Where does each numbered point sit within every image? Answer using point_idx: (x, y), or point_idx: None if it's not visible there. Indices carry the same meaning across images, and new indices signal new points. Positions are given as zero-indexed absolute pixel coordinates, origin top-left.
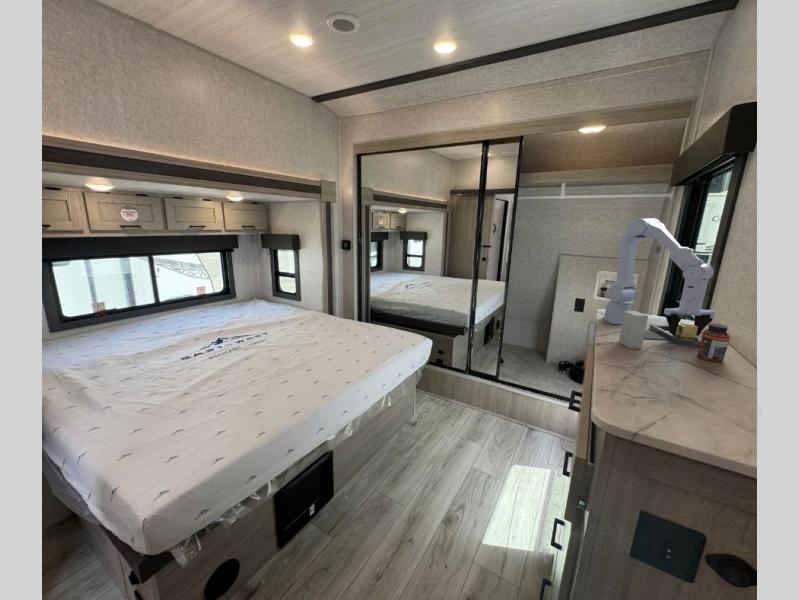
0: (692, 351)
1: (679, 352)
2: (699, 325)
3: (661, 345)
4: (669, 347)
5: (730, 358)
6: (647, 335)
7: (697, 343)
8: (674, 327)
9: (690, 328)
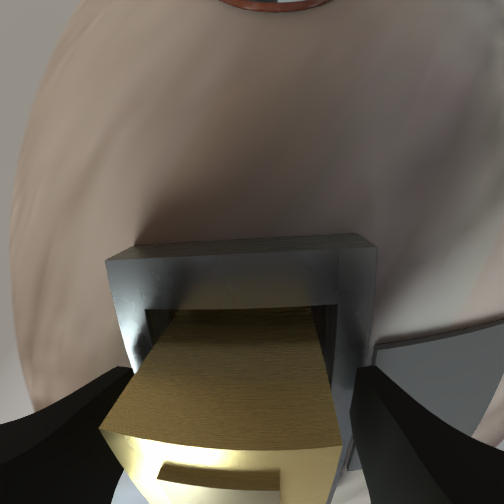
0: (322, 78)
1: (433, 56)
2: (76, 454)
3: (485, 199)
4: (457, 157)
5: (115, 21)
6: (452, 386)
7: (181, 250)
8: (427, 414)
9: (212, 417)
